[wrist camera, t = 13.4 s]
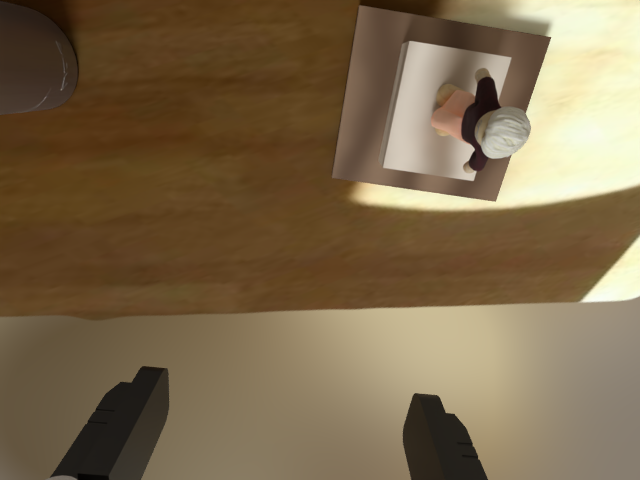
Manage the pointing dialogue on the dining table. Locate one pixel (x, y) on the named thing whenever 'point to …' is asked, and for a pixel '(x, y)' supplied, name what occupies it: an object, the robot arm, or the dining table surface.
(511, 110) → the grandmother figurine
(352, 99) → the plinth
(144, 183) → the dining table surface
